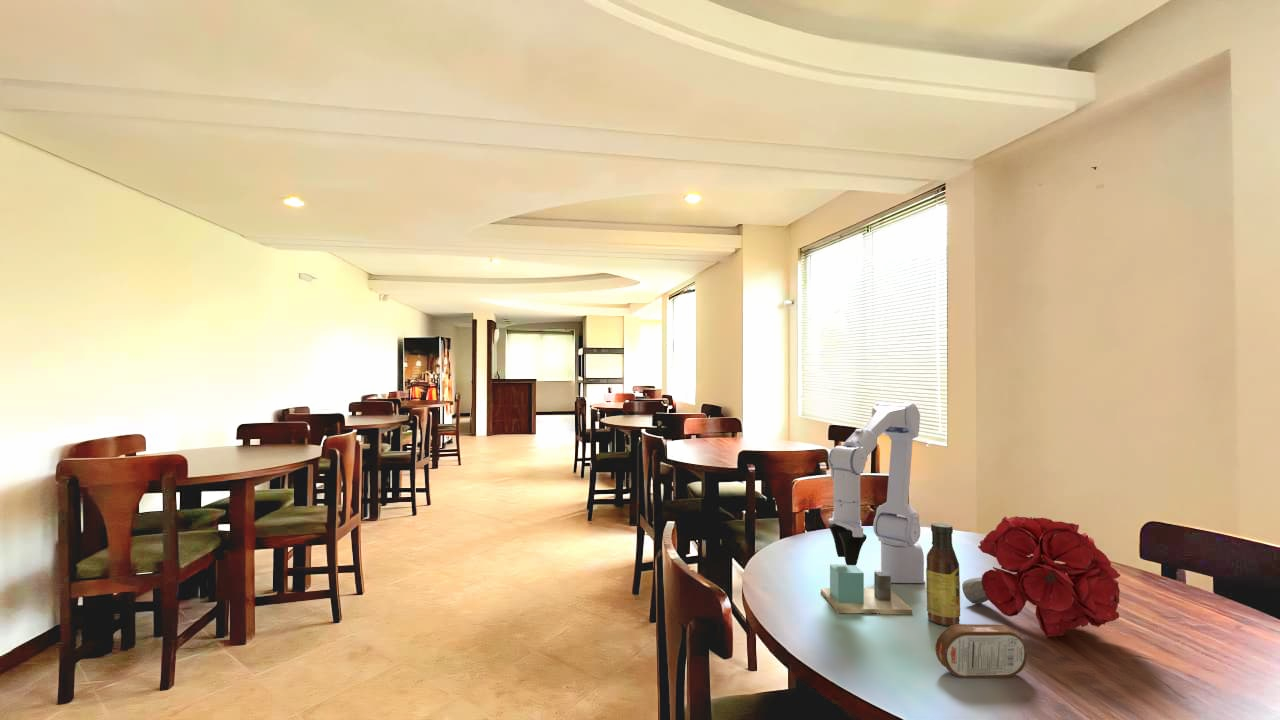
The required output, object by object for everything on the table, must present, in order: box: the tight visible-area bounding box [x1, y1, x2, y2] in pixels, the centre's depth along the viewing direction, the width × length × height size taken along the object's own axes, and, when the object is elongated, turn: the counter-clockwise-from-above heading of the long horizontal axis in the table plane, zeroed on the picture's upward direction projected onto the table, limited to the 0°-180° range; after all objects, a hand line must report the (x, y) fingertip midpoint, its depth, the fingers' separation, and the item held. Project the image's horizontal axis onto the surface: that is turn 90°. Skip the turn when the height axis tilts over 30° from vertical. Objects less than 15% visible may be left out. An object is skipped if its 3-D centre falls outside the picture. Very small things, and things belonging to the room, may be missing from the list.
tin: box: [934, 623, 1029, 679], centre depth 101 cm, size 15×3×8 cm, turn 92°
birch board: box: [820, 571, 913, 615], centre depth 132 cm, size 16×12×6 cm
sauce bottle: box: [925, 522, 961, 627], centre depth 123 cm, size 6×6×20 cm
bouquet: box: [961, 515, 1121, 637], centre depth 121 cm, size 22×24×30 cm
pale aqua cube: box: [829, 564, 865, 603], centre depth 132 cm, size 6×6×7 cm
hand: (846, 560), depth 132 cm, fingers open, 5 cm apart
